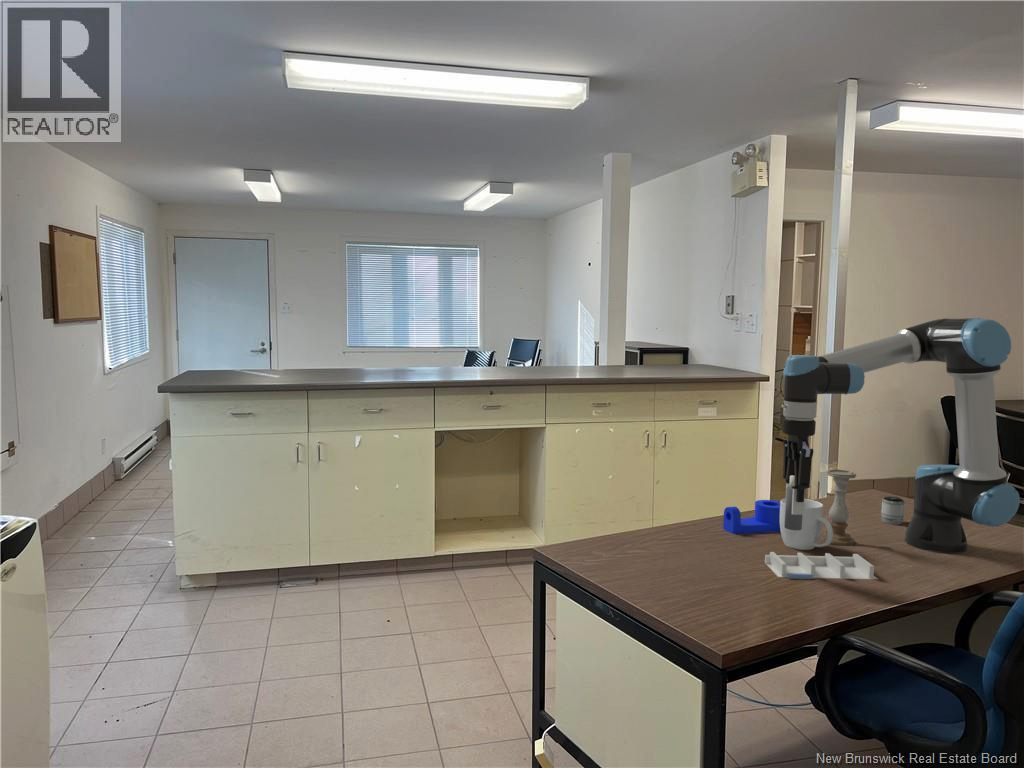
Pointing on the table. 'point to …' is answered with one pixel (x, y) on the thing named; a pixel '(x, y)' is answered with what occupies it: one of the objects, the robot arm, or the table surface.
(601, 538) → the table surface
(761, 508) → the bracket
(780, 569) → the white compartment tray
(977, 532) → the table surface
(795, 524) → the two-tone capped cylinder
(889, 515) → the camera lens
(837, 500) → the candle holder
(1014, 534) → the table surface
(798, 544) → the mug
